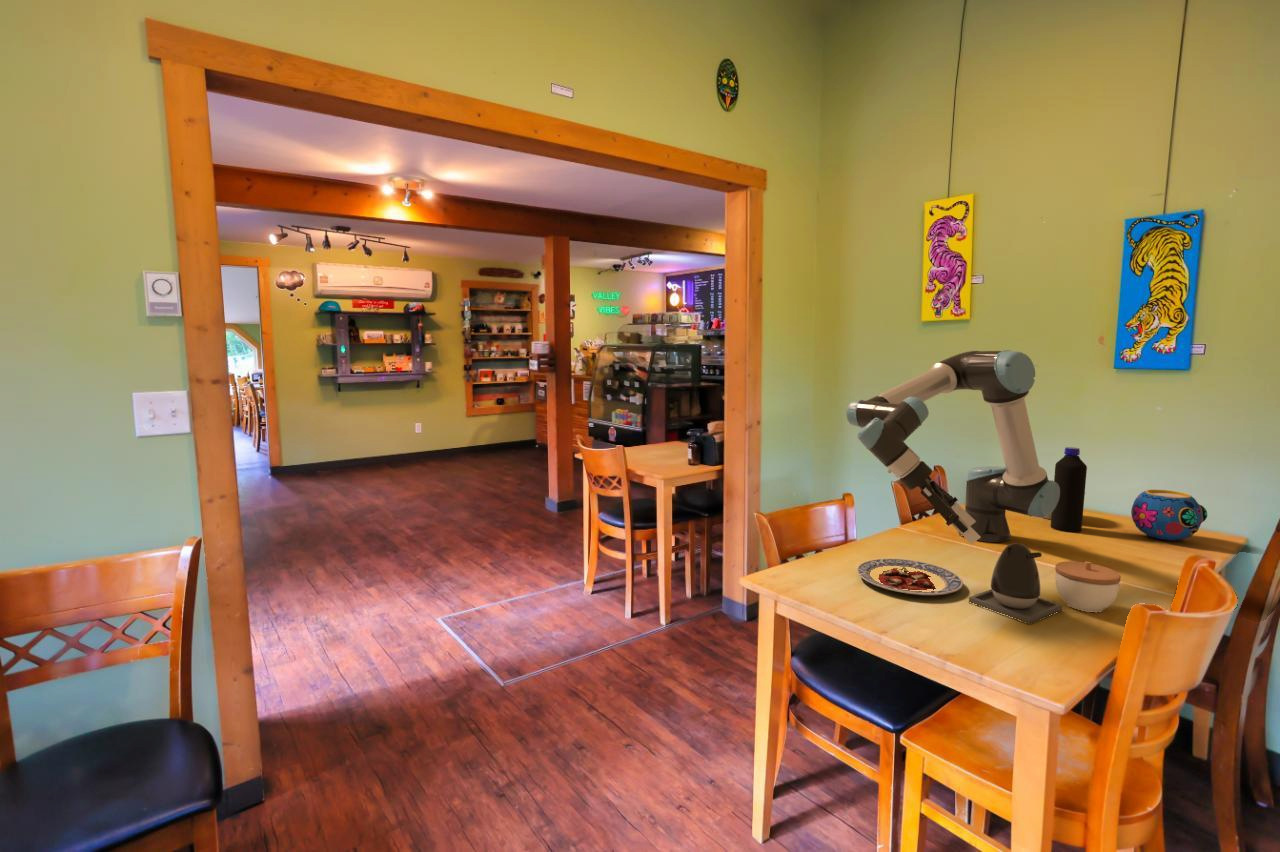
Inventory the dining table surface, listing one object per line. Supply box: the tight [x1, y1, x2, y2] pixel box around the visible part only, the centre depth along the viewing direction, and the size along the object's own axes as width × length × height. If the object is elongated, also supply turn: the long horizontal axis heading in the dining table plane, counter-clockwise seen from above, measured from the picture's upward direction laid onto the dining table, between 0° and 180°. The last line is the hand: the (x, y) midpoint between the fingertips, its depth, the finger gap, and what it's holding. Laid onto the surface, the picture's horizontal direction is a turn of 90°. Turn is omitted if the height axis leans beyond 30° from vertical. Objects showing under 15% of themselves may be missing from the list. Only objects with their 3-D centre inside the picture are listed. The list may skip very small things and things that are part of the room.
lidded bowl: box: [1054, 560, 1122, 614], centre depth 148 cm, size 13×13×11 cm
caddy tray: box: [968, 588, 1063, 625], centre depth 148 cm, size 14×14×2 cm
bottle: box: [1050, 446, 1088, 533], centre depth 210 cm, size 9×9×28 cm
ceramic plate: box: [856, 558, 964, 596], centre depth 164 cm, size 26×26×3 cm
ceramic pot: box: [1130, 489, 1208, 542], centre depth 200 cm, size 18×18×15 cm
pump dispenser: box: [990, 542, 1043, 609], centre depth 147 cm, size 10×10×15 cm
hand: (973, 532), depth 154 cm, fingers open, 13 cm apart
